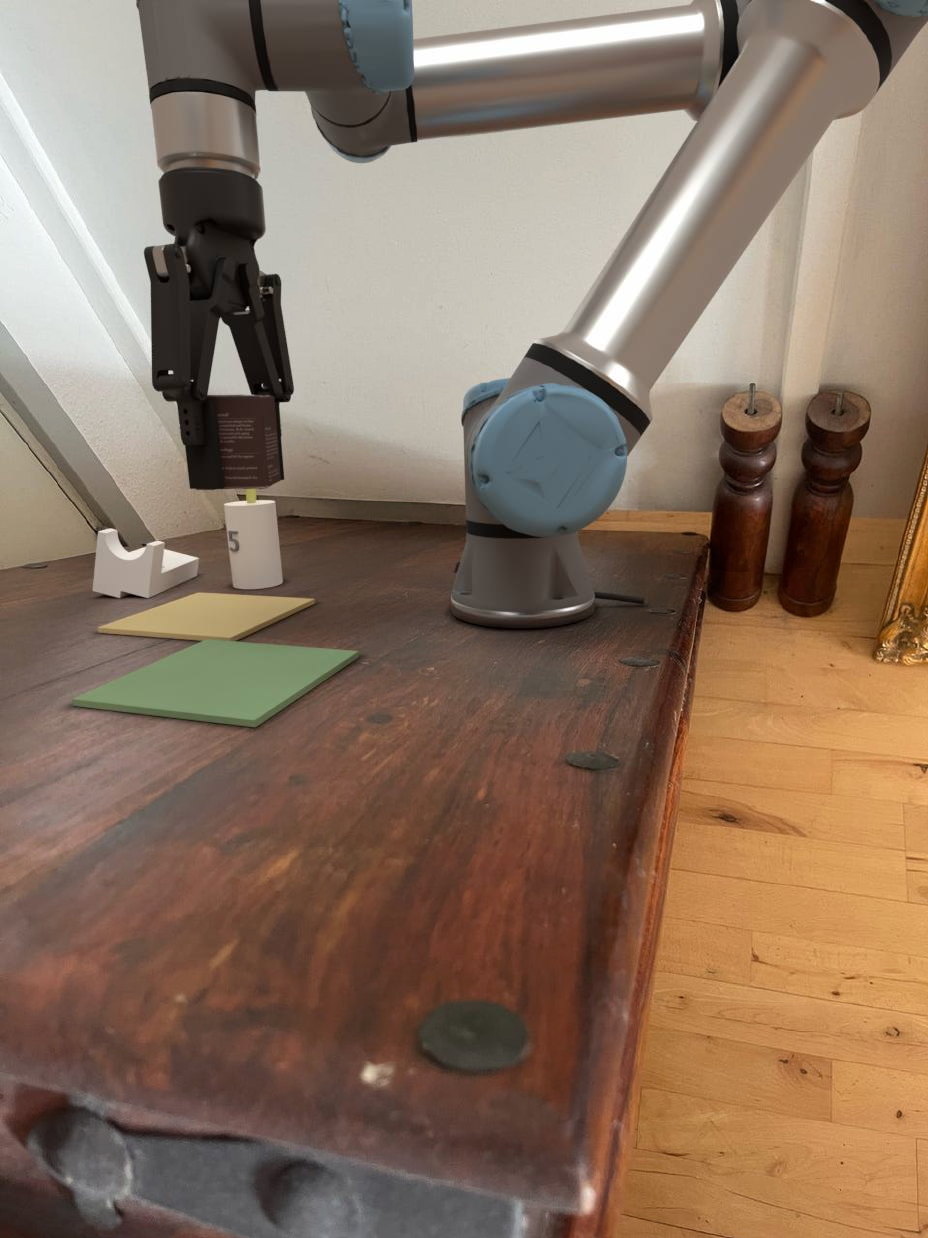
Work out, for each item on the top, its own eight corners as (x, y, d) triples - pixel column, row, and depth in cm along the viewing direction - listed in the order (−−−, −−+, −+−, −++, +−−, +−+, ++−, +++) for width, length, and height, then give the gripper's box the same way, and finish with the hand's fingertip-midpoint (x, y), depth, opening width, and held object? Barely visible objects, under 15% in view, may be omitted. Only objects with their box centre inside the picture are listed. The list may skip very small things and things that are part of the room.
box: (213, 484, 65) (203, 396, 63) (282, 482, 65) (275, 395, 63) (192, 490, 59) (181, 394, 57) (269, 489, 59) (261, 393, 58)
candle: (221, 586, 96) (207, 468, 92) (259, 577, 101) (247, 464, 97) (255, 591, 93) (242, 468, 89) (293, 581, 98) (282, 465, 94)
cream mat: (315, 603, 86) (314, 598, 85) (231, 643, 71) (230, 637, 71) (198, 597, 91) (198, 592, 90) (98, 632, 76) (97, 627, 76)
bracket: (147, 605, 91) (154, 545, 89) (92, 590, 91) (98, 531, 89) (195, 582, 104) (202, 529, 101) (147, 569, 104) (153, 517, 102)
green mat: (359, 657, 66) (358, 650, 65) (255, 728, 51) (254, 720, 51) (206, 645, 71) (206, 639, 70) (72, 706, 56) (71, 698, 56)
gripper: (250, 215, 67) (271, 474, 73) (59, 139, 48) (110, 495, 54) (323, 206, 64) (340, 474, 70) (152, 122, 46) (194, 497, 52)
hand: (239, 483), depth 62 cm, fingers closed on box, 8 cm apart
